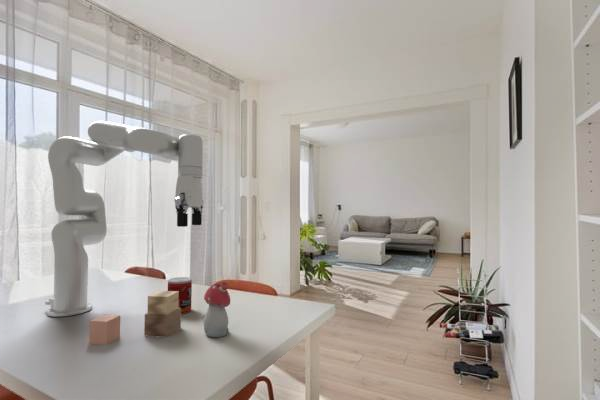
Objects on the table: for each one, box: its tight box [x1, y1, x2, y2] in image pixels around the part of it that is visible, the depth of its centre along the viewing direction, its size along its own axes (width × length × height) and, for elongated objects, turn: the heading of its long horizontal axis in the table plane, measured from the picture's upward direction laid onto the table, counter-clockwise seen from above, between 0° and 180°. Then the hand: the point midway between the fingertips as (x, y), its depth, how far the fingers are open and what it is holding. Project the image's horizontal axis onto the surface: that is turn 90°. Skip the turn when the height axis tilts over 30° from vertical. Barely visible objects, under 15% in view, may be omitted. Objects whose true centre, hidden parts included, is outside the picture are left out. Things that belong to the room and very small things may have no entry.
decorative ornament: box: [203, 281, 231, 338], centre depth 90 cm, size 9×7×15 cm
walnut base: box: [143, 308, 182, 338], centre depth 92 cm, size 7×7×6 cm
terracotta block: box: [88, 314, 121, 345], centre depth 85 cm, size 5×5×6 cm
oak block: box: [146, 290, 179, 315], centre depth 92 cm, size 6×6×5 cm
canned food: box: [167, 276, 193, 315], centre depth 110 cm, size 8×8×11 cm
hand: (189, 225), depth 103 cm, fingers open, 9 cm apart
